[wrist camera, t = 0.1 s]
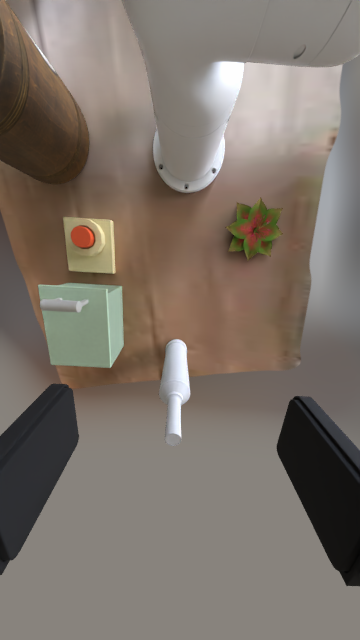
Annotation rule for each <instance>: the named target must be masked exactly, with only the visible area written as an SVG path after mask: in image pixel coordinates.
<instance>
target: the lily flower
mask: <svg viewBox="0 0 360 640" xmlns="http://www.w3.org/2000/svg"><path fill="white" fill-rule="evenodd" d="M282 209H283V208H281V209H268V210H267V208H266V206H265V204H264V202H263V201H262V199H261V197H260V199H259V200H258V201H257V203H256V204H255V205H254V206H253V208H251V207H249V206H247V205H244V204H239V203H237V221H235V222H234V223H232V224H230V226H227V227H225V228H227V229H228V230H229V231H231V233H232V234H233V235H234V238H233V240H232V242H231V245H230V249H229V251H241V250H245V254H246V257H247V260H248V261H249V259H251V258H252V256H254V255H255V254H256V253H257V252H259V253H261V254H264V255H268V256H270V257H271V249H272V240H274V239H276V238H277V237H279V236H280V235H282V234H283V233H282V232H281V231H280V230H279V227H278V226H277V225H276V223H277V221H278V219H279V217H280V214H281V213H280V211H282ZM229 251H228V252H229Z"/></svg>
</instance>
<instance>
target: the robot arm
mask: <svg viewBox="0 0 360 640" xmlns="http://www.w3.org/2000/svg"><path fill="white" fill-rule="evenodd" d="M122 2H123V5H124V8H125V10H126V13H127V16H128V18H129V21H130V23H131V26H132V28H133V30H134V33H135V35H136V38H137V40H138V43H139V45H140V48H141V51H142V55H143V59H144V63H145V67H146V72H147V76H148V81H149V87H150V93H151V98H152V103H153V109H154V114H155V120H156V125H157V129H156V131H155V135H154V139H153V157H154V162H155V165H156V169H157V171H158V173H159V175H160V177H161V178H162V179H163V181H164V182H165V183H166V184H167V185H168V186H169V187H171V188H173V189H174V190H176V191H179V192H183V193H194V192H197V191H200V190H202V189H204V188H205V187H207V186H208V185H209V184H210V183H211V182H212V181H213V180H214V178H215V177H216V176H217V174H218V172H219V170H220V168H221V165H222V162H223V158H224V150H225V145H224V137H223V134H224V132H225V129H226V126H227V123H228V121H229V118H230V115H231V113H232V110H233V107H234V104H235V102H236V99H237V96H238V93H239V90H240V86H241V82H242V77H243V69H244V63H246V62H253V63H264V64H275V65H287V66H298V67H332V66H337V65H341V64H344V63H346V62H348V61H350V60H352V59H354V58H355V57H356V56H358V55H360V0H122ZM161 167H162V168H163V169H162V170H160V168H161ZM212 171H214V174H213V173H212ZM185 187H188V188H187V189H185ZM78 438H79V435H78V427H77V420H76V413H75V404H74V397H73V391H72V389H71V388H69V386H68V385H67V384H51V385H50V386H49V387H48V388H47V389H46V390H45V391H44V392H43V393H42V394H41V395H40V396H39V397H38V398H37V399H36V400H35V401H34V402H33V403H32V404H31V405H30V406H29V407H28V408H27V409H26V410H25V411H24V412H23V413H22V414H21V415H20V416H19V417H18V419H17V420H16V421H15V422H14V423H13V424H12V425H11V426H10V427H9V428H8V429H7V430H6V431H5V432H4V433H3V434H2V435H1V436H0V575H2V573H3V571H4V570H5V568H6V566H7V564H8V563H9V561H10V560H13V559H14V558H15V557H16V556H17V555H18V553H19V552H20V550H21V548H22V546H23V544H24V542H25V541H26V539H27V537H28V535H29V533H30V531H31V529H32V528H33V526H34V524H35V522H36V520H37V518H38V516H39V515H40V513H41V511H42V509H43V507H44V505H45V503H46V501H47V500H48V498H49V496H50V494H51V492H52V490H53V489H54V487H55V485H56V483H57V481H58V479H59V477H60V476H61V474H62V472H63V470H64V468H65V466H66V464H67V462H68V460H69V459H70V457H71V455H72V453H73V451H74V449H75V447H76V446H77V443H78ZM277 452H278V455H279V457H280V459H281V461H282V463H283V466H284V468H285V470H286V472H287V474H288V476H289V478H290V480H291V482H292V484H293V486H294V488H295V490H296V492H297V494H298V496H299V498H300V500H301V502H302V504H303V507H304V509H305V511H306V512H307V515H308V517H309V518H310V520H311V523H312V525H313V527H314V529H315V531H316V533H317V535H318V537H319V539H320V541H321V543H322V545H323V547H324V549H325V552H326V553H327V556H328V558H329V560H330V561H331V563H332V565H333V566H334V568H335V569H336V570H338V571H339V572H340V574H341V575H342V578H343V579H344V581H345V583H346V585H347V586H360V450H359V449H358V448H357V447H356V446H355V445H354V444H353V443H352V441H351V440H350V439H349V438H348V437H347V436H346V435H345V434H344V433H343V432H342V430H340V428H339V427H338V426H337V425H336V424H335V423H334V422H333V421H332V420H331V419H330V417H329V416H328V415H327V414H326V413H325V412H324V411H323V410H322V409H321V407H320V406H318V404H317V403H316V402H315V401H314V400H313V399H312V398H311V397H303V396H295V397H294V398H293V399H292V400H291V401H290V402H289V405H288V409H287V412H286V416H285V419H284V422H283V426H282V430H281V433H280V436H279V440H278V443H277Z"/></svg>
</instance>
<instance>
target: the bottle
mask: <svg viewBox="0 0 360 640" xmlns="http://www.w3.org/2000/svg"><path fill="white" fill-rule="evenodd" d="M165 353H166V356H165V362H164V367H163V373H162V378H161V384H160V390H159V396H160V399H161V400H162V401H163V402H164V403H165V404H167V405H168V408H167V422H166V430H165V442H166V443H167V444H168V445H171V446H175V445H178V444H179V443H180V442H181V405H182V404H184V403H186V401H187V400H188V399H189V397H190V385H189V376H188V367H187V357H186V354H187V348H186V345H185V344H184V342H183V341H181V340H178V339H174V340H171V341H170V342H169V343H168V344H167V345H166V349H165Z"/></svg>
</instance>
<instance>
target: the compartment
mask: <svg viewBox="0 0 360 640" xmlns="http://www.w3.org/2000/svg"><path fill="white" fill-rule="evenodd" d="M58 286H72V287H88V288H104V289H108V305H109V324H110V343H111V361H112V365H113V363H114V361H115V360H116V358H117V356H118V355H119V353H120V351H121V350H122V348H123V347H124V339H123V307H122V286H115V285H99V284H83V283H65V284H62V285H58Z"/></svg>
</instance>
